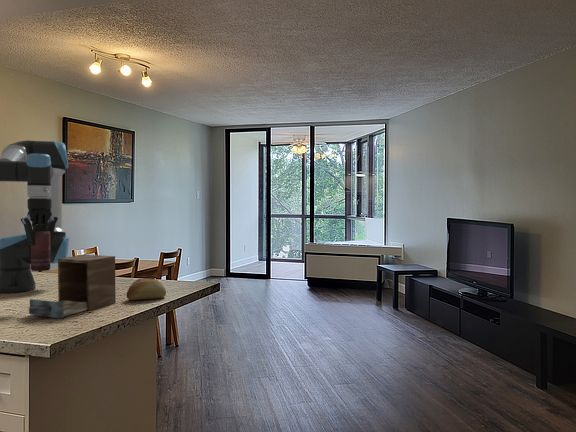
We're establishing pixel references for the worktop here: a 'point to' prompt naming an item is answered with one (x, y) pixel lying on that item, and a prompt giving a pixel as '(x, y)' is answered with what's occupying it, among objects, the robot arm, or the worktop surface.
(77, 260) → the box
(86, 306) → the tray
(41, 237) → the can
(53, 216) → the robot arm
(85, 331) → the worktop surface
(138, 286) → the bread roll
